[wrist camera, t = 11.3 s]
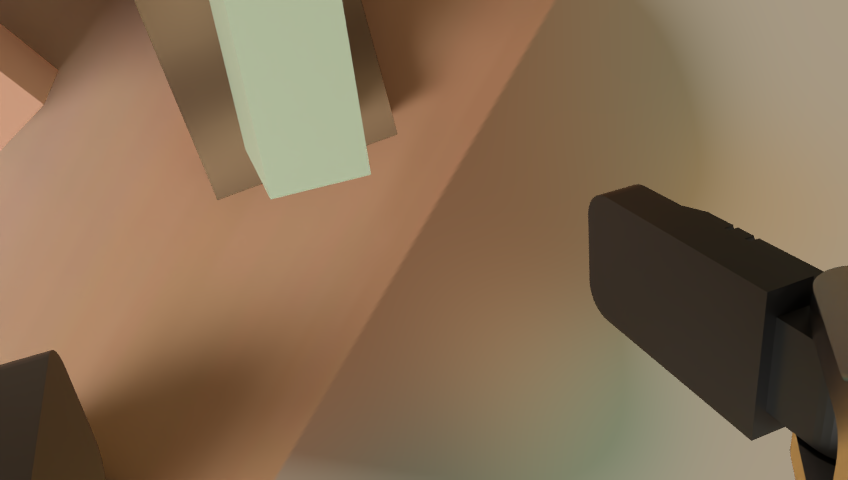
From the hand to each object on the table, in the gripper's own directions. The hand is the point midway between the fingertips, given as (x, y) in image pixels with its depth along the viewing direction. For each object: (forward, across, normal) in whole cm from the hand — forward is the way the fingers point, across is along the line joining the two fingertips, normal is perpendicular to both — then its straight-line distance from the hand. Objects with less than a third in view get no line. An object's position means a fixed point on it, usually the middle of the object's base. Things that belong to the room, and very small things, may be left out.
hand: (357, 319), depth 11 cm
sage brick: (+20, -2, 0) cm, 20 cm away
